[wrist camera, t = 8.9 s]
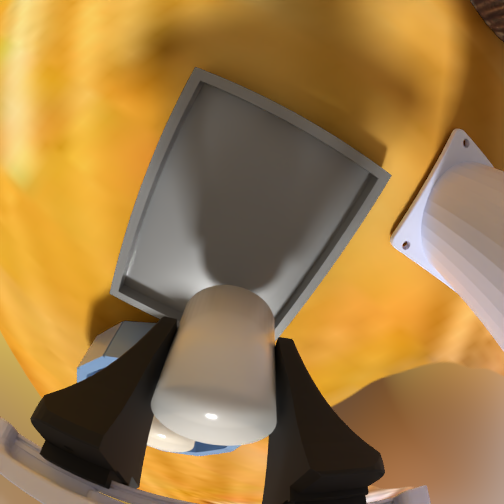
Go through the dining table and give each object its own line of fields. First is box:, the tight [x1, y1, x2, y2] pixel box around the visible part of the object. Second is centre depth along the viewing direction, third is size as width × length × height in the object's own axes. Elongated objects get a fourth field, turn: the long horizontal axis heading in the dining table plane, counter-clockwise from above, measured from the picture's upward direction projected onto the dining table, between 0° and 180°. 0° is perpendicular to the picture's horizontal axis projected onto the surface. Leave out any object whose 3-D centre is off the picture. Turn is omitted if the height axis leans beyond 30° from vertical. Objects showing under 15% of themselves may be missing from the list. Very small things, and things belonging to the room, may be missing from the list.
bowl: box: [77, 321, 241, 456], centre depth 19 cm, size 14×14×4 cm
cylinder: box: [151, 285, 277, 446], centre depth 11 cm, size 4×4×6 cm
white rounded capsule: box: [147, 415, 195, 452], centre depth 16 cm, size 4×4×6 cm
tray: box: [110, 67, 392, 341], centre depth 14 cm, size 10×13×1 cm
